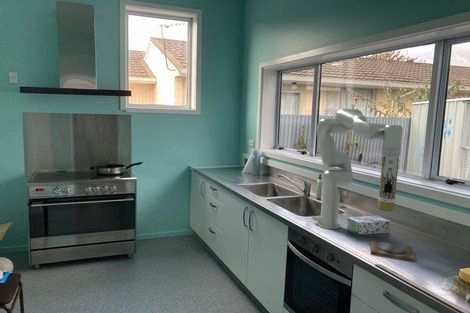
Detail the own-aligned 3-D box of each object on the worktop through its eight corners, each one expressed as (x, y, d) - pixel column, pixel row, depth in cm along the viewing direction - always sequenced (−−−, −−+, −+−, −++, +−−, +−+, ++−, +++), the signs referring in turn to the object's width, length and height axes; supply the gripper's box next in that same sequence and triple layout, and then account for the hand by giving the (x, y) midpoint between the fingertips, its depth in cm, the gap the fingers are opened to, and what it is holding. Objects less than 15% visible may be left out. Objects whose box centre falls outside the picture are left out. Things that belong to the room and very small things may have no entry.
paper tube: (380, 207, 170) (385, 154, 168) (395, 210, 166) (401, 155, 163) (375, 209, 165) (380, 155, 163) (390, 212, 161) (396, 156, 158)
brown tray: (370, 254, 162) (371, 248, 162) (370, 243, 176) (370, 238, 176) (414, 261, 156) (415, 256, 156) (411, 250, 170) (411, 245, 170)
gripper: (401, 154, 153) (397, 195, 155) (399, 151, 170) (395, 189, 171) (382, 153, 156) (378, 193, 158) (382, 150, 172) (378, 187, 174)
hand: (387, 191), depth 165 cm, fingers closed on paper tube, 6 cm apart
